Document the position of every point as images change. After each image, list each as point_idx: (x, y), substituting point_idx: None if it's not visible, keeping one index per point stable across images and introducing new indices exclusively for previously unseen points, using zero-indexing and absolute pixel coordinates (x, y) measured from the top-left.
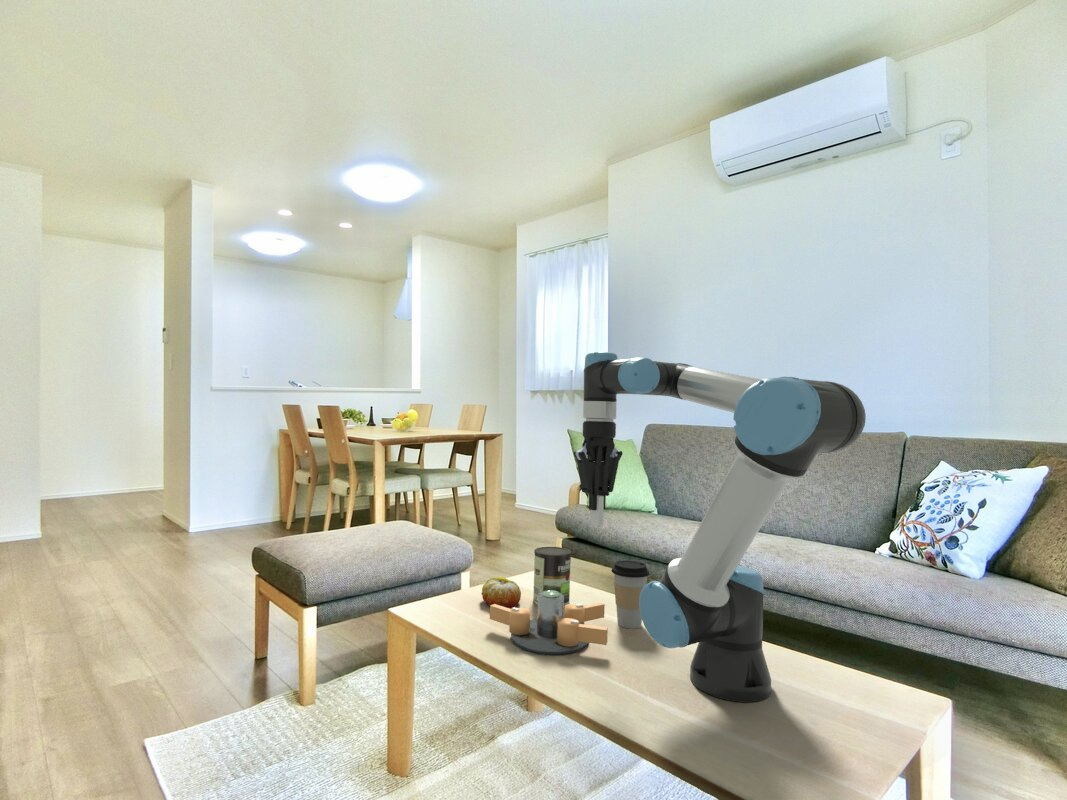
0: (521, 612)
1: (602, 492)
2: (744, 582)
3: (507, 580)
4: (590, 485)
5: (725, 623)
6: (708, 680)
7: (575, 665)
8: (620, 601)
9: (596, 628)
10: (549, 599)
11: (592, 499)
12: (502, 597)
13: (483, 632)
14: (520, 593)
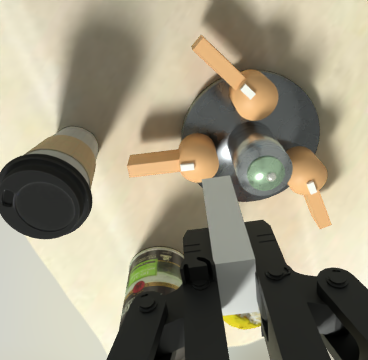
0: (308, 173)
1: (218, 289)
2: None
3: (234, 315)
4: (358, 311)
5: None
6: None
7: (269, 23)
8: (92, 159)
9: (217, 54)
10: (282, 152)
11: (282, 258)
12: None
13: (328, 197)
14: None
